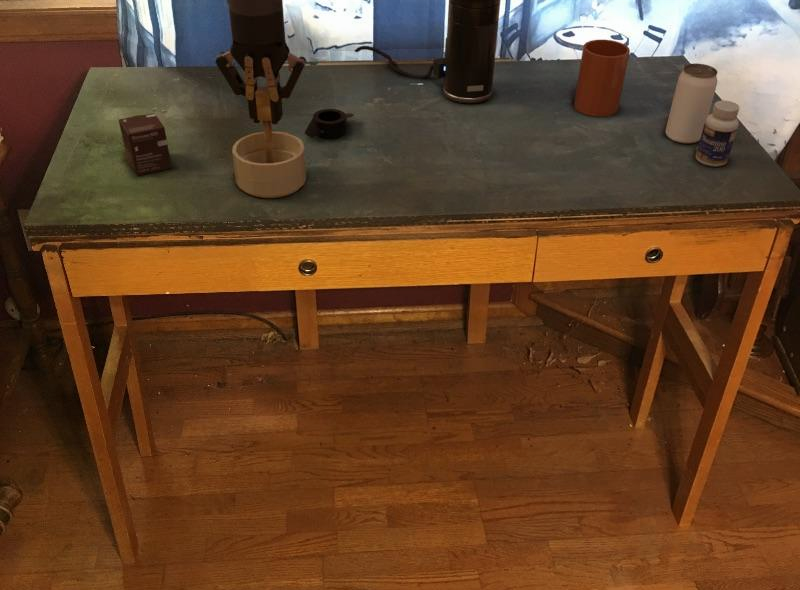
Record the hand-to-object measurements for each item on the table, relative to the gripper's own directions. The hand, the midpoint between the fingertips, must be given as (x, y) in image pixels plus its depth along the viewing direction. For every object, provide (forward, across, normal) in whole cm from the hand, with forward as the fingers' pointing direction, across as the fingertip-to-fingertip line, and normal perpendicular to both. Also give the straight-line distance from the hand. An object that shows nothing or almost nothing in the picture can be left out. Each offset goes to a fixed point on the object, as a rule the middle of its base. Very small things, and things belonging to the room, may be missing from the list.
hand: (266, 121), depth 131 cm
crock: (+11, -54, -37) cm, 66 cm away
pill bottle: (+11, -73, -19) cm, 76 cm away
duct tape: (+11, -6, -19) cm, 23 cm away
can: (+11, -69, -27) cm, 75 cm away
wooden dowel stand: (+10, 0, 0) cm, 10 cm away
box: (+11, +21, -3) cm, 24 cm away
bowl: (+11, 0, 0) cm, 11 cm away
